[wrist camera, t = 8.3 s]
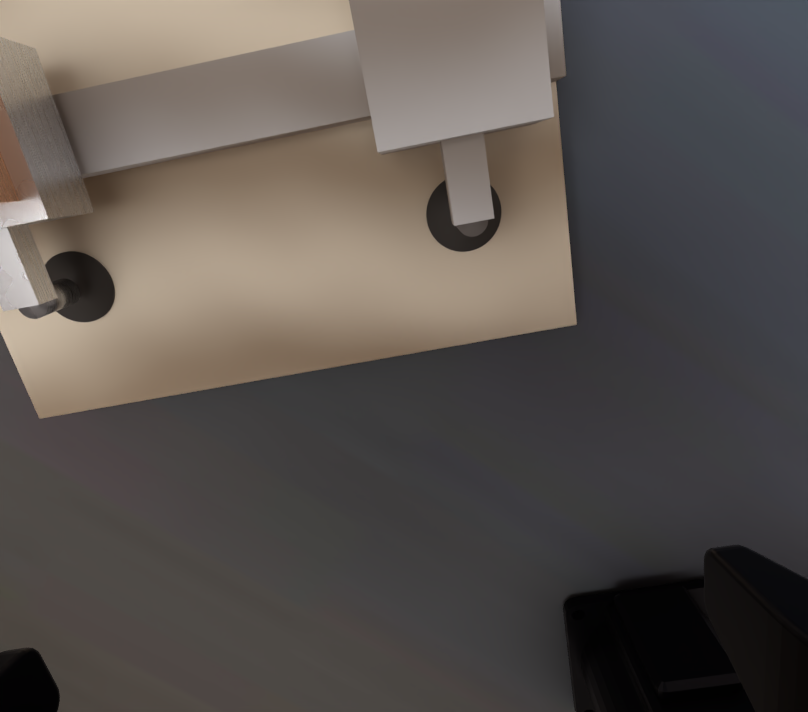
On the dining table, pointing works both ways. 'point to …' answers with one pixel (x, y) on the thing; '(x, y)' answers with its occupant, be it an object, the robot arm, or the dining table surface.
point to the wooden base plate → (292, 188)
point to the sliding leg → (33, 183)
